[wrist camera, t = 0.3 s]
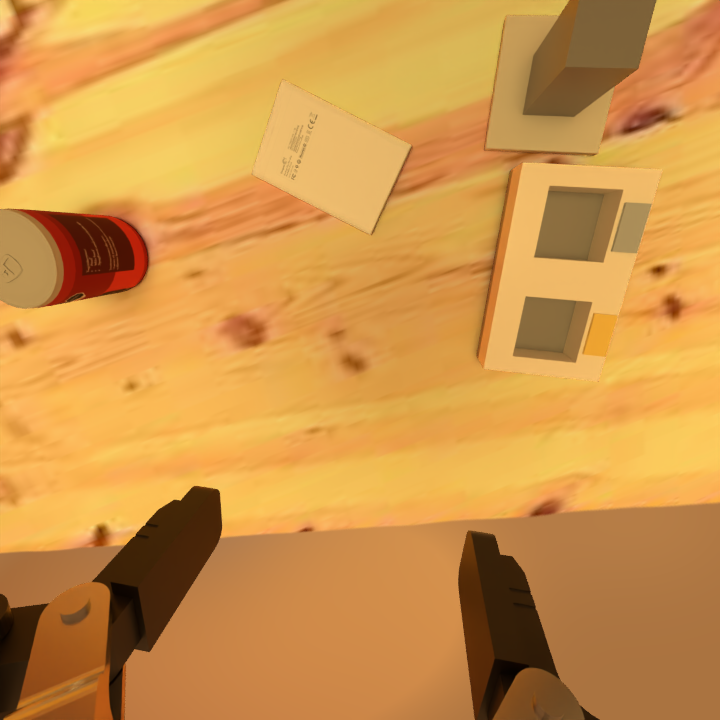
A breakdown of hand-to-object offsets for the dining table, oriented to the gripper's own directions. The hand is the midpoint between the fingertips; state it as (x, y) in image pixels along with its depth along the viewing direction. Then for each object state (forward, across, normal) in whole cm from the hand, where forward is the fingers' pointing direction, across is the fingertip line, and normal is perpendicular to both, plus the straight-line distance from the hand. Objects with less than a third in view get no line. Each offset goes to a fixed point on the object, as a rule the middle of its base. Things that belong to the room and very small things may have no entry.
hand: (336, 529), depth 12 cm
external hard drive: (+29, +7, -14) cm, 33 cm away
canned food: (+28, +30, -4) cm, 41 cm away
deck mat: (+28, -11, -21) cm, 37 cm away
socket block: (+28, -14, -6) cm, 32 cm away
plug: (+27, -11, -21) cm, 36 cm away
